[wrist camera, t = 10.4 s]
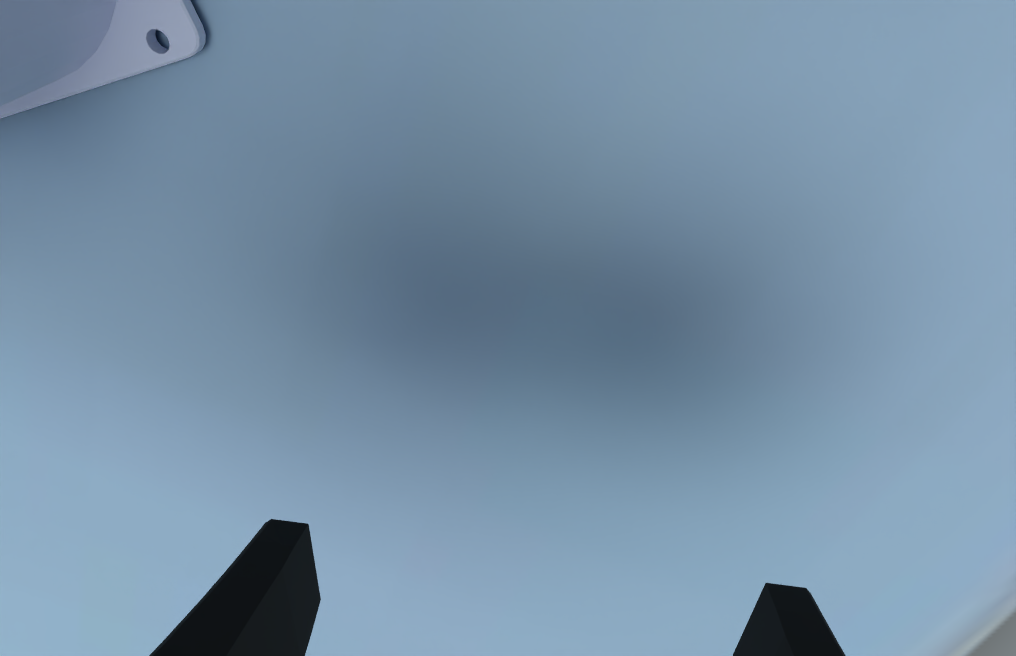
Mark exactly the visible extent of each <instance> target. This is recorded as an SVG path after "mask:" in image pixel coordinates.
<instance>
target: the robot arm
mask: <svg viewBox="0 0 1016 656" xmlns="http://www.w3.org/2000/svg"><path fill="white" fill-rule="evenodd" d="M156 29H158V30H159V31H161V32H163V33H164V34H165V35H166V37H167V38H168V41H169V44H170V46H169V49H166V48H164V47H162V46H161V45H160V44H159V43H158V41H157V39H156V36H155V32H156ZM205 39H206V34H205V31H204V28H203V25H202V23H201V21H200V19H199V17H198V15H197V13H196V11H195V9H194V7H193V5H192V3H191V1H190V0H0V119H1V118H4V117H7V116H10V115H13V114H16V113H19V112H22V111H25V110H29V109H32V108H35V107H38V106H41V105H44V104H47V103H50V102H53V101H56V100H59V99H63V98H66V97H69V96H72V95H75V94H78V93H81V92H84V91H87V90H90V89H93V88H96V87H100V86H103V85H106V84H109V83H112V82H115V81H118V80H121V79H124V78H127V77H130V76H133V75H137V74H140V73H143V72H146V71H149V70H152V69H155V68H158V67H161V66H164V65H167V64H170V63H174V62H177V61H180V60H183V59H186V58H189V57H191V56H193V55H195V54H196V53H198V52H199V51H201V50H202V49H203V47H204V45H205ZM320 600H321V599H320V593H319V586H318V580H317V574H316V568H315V562H314V556H313V549H312V543H311V537H310V531H309V525H308V524H305V523H298V522H290V521H282V520H274V519H271V520H269V521H268V522H266V523H265V524H264V525H263V526H262V528H261V529H260V530H259V531H258V533H257V534H256V535H255V536H254V538H253V539H252V540H251V541H250V543H249V544H248V545H247V546H246V547H245V549H244V550H243V551H242V552H241V554H240V555H239V556H238V557H237V558H236V560H235V561H234V562H233V563H232V564H231V565H230V567H229V568H228V569H227V570H226V571H225V573H224V574H223V575H222V576H221V577H220V578H219V580H218V581H217V582H216V583H215V584H214V585H213V586H212V588H211V589H210V590H209V591H208V592H207V593H206V595H205V596H204V597H203V598H202V599H201V600H200V601H199V602H198V604H197V605H196V606H195V607H194V608H193V609H192V610H191V611H190V612H189V613H188V614H187V616H186V617H185V618H184V619H183V620H182V621H181V622H180V623H179V624H178V625H177V627H176V628H175V629H174V630H173V631H172V632H171V633H170V634H169V635H168V636H167V638H166V639H165V640H164V641H163V642H162V643H161V644H160V645H159V646H158V647H157V648H156V649H155V650H154V651H153V652H152V653H151V654H150V655H149V656H305V653H306V650H307V646H308V643H309V640H310V636H311V633H312V629H313V625H314V622H315V618H316V615H317V611H318V607H319V604H320ZM733 656H845V654H844V652H843V651H842V649H841V647H840V645H839V644H838V642H837V640H836V638H835V636H834V635H833V633H832V631H831V629H830V628H829V626H828V624H827V622H826V620H825V619H824V617H823V615H822V613H821V611H820V609H819V608H818V606H817V604H816V602H815V600H814V599H813V597H812V595H811V593H810V592H809V591H808V590H807V589H806V588H802V587H794V586H786V585H778V584H771V583H766V584H765V586H764V588H763V590H762V592H761V594H760V597H759V599H758V601H757V603H756V605H755V608H754V610H753V612H752V614H751V616H750V619H749V621H748V623H747V625H746V627H745V630H744V632H743V634H742V636H741V638H740V640H739V643H738V645H737V647H736V649H735V651H734V654H733Z"/></svg>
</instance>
